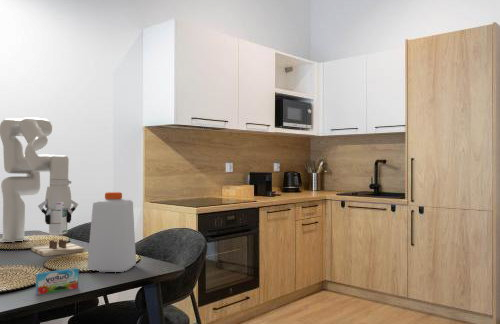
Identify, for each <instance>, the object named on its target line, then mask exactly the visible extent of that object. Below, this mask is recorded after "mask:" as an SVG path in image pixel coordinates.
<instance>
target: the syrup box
mask: <svg viewBox="0 0 500 324" xmlns="http://www.w3.org/2000/svg"><path fill="white" fill-rule="evenodd" d="M49 215H50V224H48V235H50V236H51V235H52V236H62V235H64V234H67V233H68V223H67V209H65V207H64V202H61V201H57V205H56V209H54V210H51V212H50V213H49Z"/></svg>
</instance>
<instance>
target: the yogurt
mask: <svg viewBox="0 0 500 324" xmlns="http://www.w3.org/2000/svg"><path fill="white" fill-rule="evenodd" d="M79 271H80V269H79V268H77V267H72V268H67V269H66V268H65V269H57V270H52V271H45V272H38V273H36V274H35V295H37V296H43V295H48V294H54V293H59V292H65V291H71V290H77V289H78V288H79V279H80V275H79V274H80V272H79Z"/></svg>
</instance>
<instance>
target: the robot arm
mask: <svg viewBox="0 0 500 324" xmlns="http://www.w3.org/2000/svg"><path fill="white" fill-rule="evenodd" d="M52 131H53V125H52V123H51V121H50V120H49V119H46V118H39V117H24V118H12V117H11V118H5V119H3V120H2V121H1V122H0V140H1V143H2V148H3V149H2V150H3V151H2V152H3V167H4V168H3V169H4V171H5V172H6V173H7V174H12V175H14V174H15V176H8V177H5V178H3V180H2V181H1V186H0V187H1V193H2V194H1V195H2V203H3V204H2V237H1V238H0V243H4V242H12V243H15V242H14V241H22V242H24V241H23V240H26V241H28V240H27V239H29V238H28V237H27V236H25V231H26V230H25V229H26V228H25V225H26V224H25V221H26V217H25V216H26V205H25V202H24V200H23V199H22V196H23V197H24V196H35V195H37V194H38V193H39V192H40V189H41V175H40V174H41V172H45V173H47V172H49V186H47V187H46V193H45V200H44V201H43V202H41V203H40V204H39V205H38V206H37V207H38V209H39V210H40V211H41V213H43V215H44V223H46V225H49V224H50V215H49V213H50V212H51V210H54V209H56V205H57V201H61V202H64V207H65V209H67V224H70V223H71V221H72V214H73V213H74V211H75V210H76V208H77V207H78V205H79V204H78V203H77V202H76V201H74V200H73V199H72V193H71V187H70V186H69V185H70V184H72V180H69V165H70V164H69V156H67V155H61V154H60V155H59V154H58V155H57V154H56V155H55V154H37V153H36V152H37V151H39V150H41V149H43V148H44V147H46V146H47V144H48V141H49V140H48V138H47V137H48V136H50V135H51V134H52ZM18 137H24V139H25V141H26V143H27V145H26V147H25V150H24V151H23V149H24V148H23V146H24V145H23V144H22V142H21V141H20V139H18ZM16 174H17V175H19V174H21V175H22V174H23V175H24V174H25V175H24V176H21V175H20V176H16ZM44 206H45V207H44Z"/></svg>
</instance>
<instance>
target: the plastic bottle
mask: <svg viewBox="0 0 500 324" xmlns="http://www.w3.org/2000/svg"><path fill="white" fill-rule="evenodd" d="M134 218H135V216H134V202H133V201H132V200H131V199H125V198H123V193H122V192H120V191H112V192H111V191H108V192H107V191H106V192H105V193H104V199H100V200H95V201H94V202H93V203H92V210H91V222H90V230H89V231H90V232H89V242H88V243H89V245H88V255H87V266H86V269H87V270H88V269H91V270H97V271H99V272H98V273H105V272H115V273H114V274H117V273H116V272H121V273H125V272H127V271H129V270H131V269H132V268H134V267H135V266H136V264H137V257H136V255H137V254H136V238H135V237H136V236H135V219H134ZM133 266H134V267H133ZM124 271H125V272H124Z"/></svg>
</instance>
